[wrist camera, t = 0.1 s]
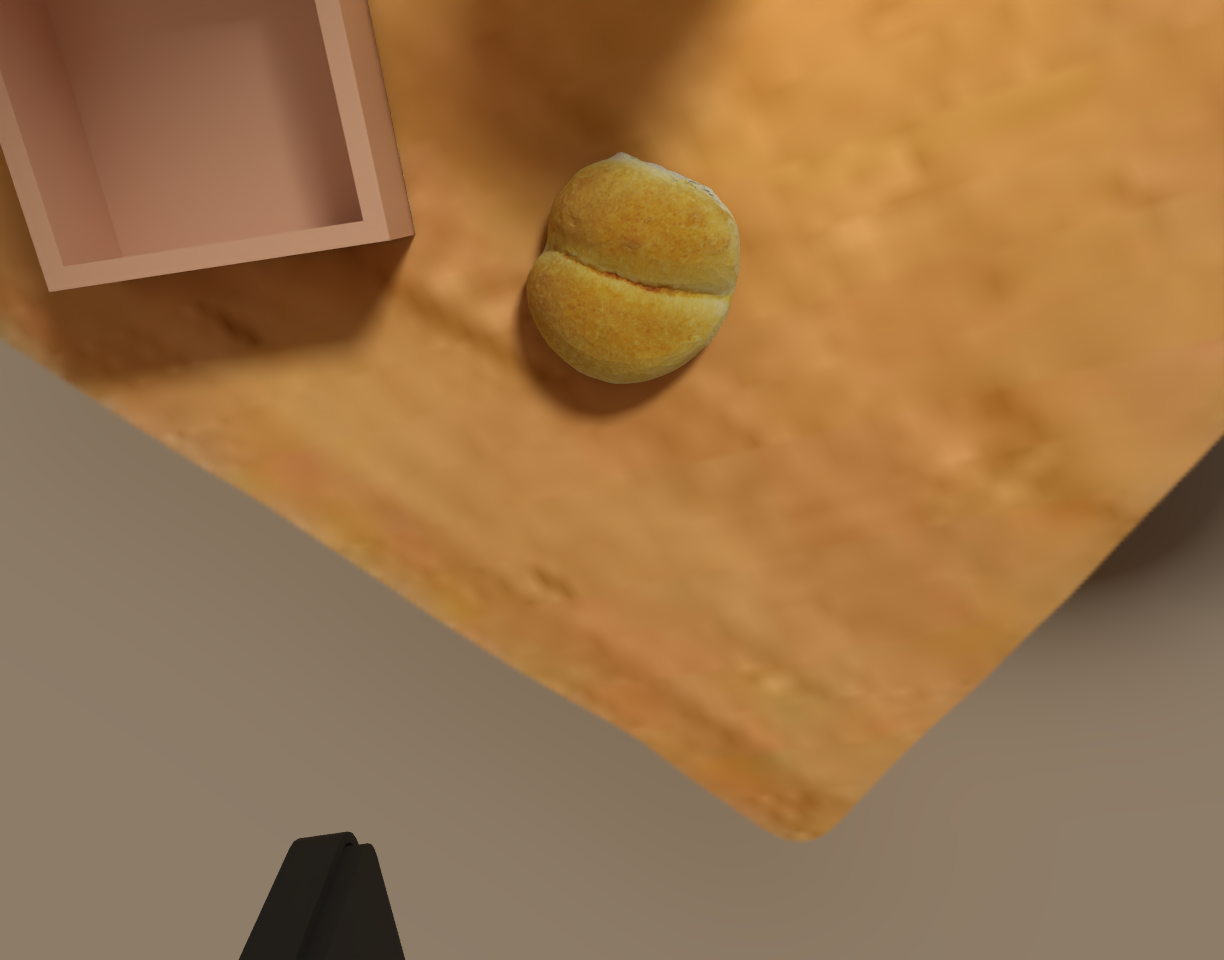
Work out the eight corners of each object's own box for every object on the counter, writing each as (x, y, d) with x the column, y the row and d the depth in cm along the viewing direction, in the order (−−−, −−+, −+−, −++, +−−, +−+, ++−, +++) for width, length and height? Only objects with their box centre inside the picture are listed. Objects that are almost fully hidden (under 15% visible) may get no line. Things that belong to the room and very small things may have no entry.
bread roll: (508, 341, 39) (499, 356, 35) (578, 134, 37) (576, 126, 33) (685, 405, 40) (694, 427, 36) (764, 207, 38) (784, 209, 34)
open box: (13, -60, 34) (-81, -102, 29) (344, -113, 34) (304, -163, 29) (117, 279, 38) (48, 291, 33) (415, 234, 37) (390, 240, 33)
